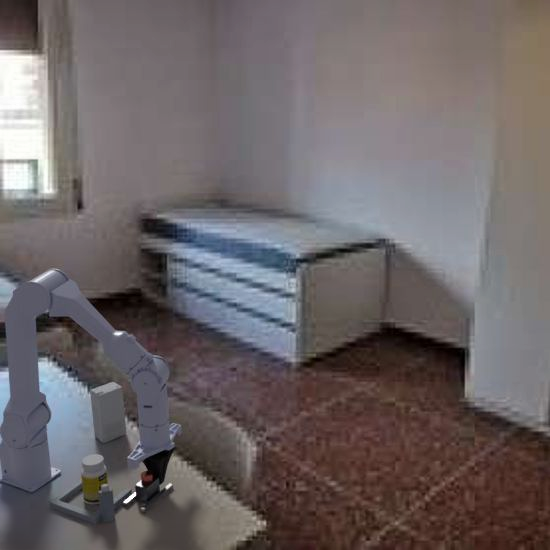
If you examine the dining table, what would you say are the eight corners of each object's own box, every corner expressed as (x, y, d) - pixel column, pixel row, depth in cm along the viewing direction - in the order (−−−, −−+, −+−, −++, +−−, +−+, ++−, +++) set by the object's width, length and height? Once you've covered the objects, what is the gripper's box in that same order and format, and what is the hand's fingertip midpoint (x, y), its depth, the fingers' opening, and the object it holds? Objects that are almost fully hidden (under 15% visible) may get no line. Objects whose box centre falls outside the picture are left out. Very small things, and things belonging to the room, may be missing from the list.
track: (123, 505, 128) (123, 502, 127) (152, 481, 135) (152, 477, 135) (144, 513, 125) (144, 509, 125) (173, 487, 133) (172, 484, 133)
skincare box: (117, 428, 156) (113, 380, 153) (127, 435, 153) (123, 386, 149) (93, 437, 152) (88, 388, 149) (103, 445, 149) (98, 395, 145)
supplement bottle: (103, 506, 127) (100, 467, 125) (79, 504, 128) (75, 465, 126) (112, 491, 132) (109, 453, 130) (89, 490, 133) (85, 452, 130)
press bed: (49, 507, 127) (45, 474, 125) (87, 479, 136) (84, 448, 134) (103, 527, 121) (100, 493, 119) (139, 497, 130) (137, 465, 128)
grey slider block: (136, 500, 129) (134, 477, 128) (149, 489, 132) (147, 467, 131) (147, 504, 128) (145, 481, 126) (160, 493, 131) (158, 470, 130)
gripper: (147, 442, 121) (151, 507, 125) (192, 408, 133) (195, 468, 137) (116, 433, 124) (121, 497, 128) (163, 401, 136) (167, 460, 140)
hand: (158, 482), depth 133 cm, fingers closed
